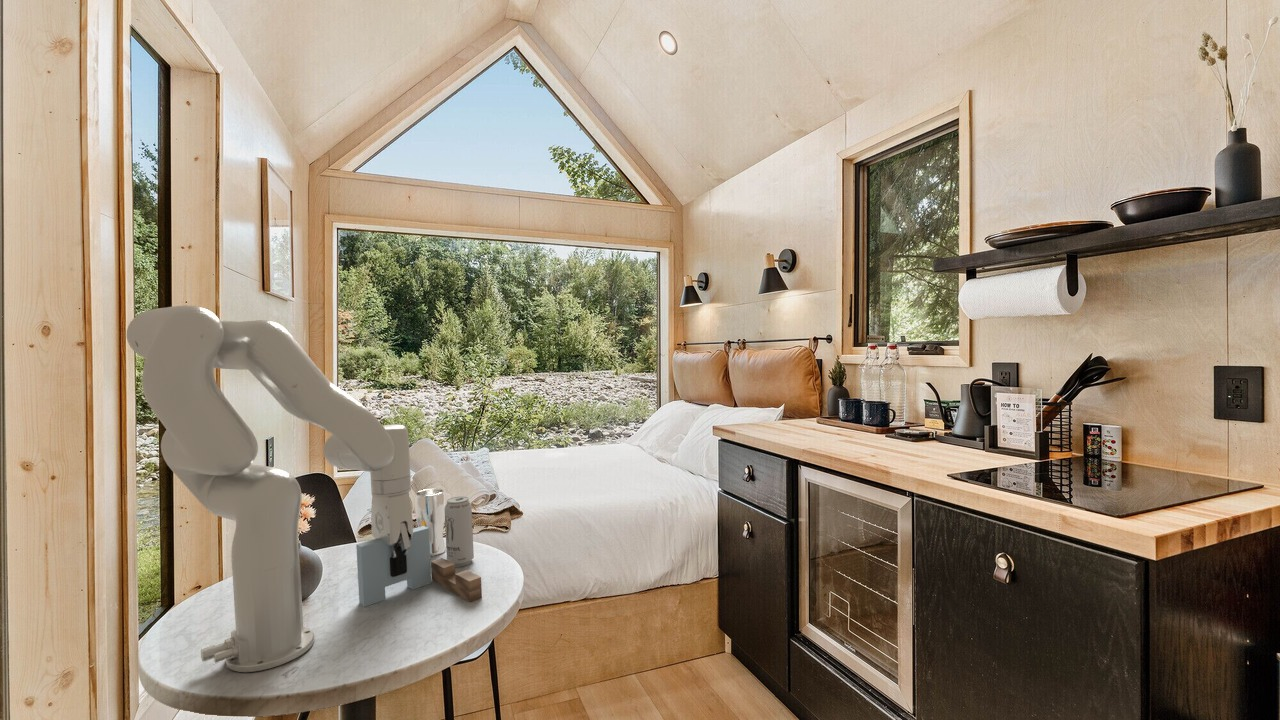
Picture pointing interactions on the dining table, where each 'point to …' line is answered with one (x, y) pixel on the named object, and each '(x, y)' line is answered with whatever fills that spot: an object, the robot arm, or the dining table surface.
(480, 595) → the brown wooden bar
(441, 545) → the shiny metal tumbler
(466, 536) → the energy drink can
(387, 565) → the blue board
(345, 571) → the dining table surface
